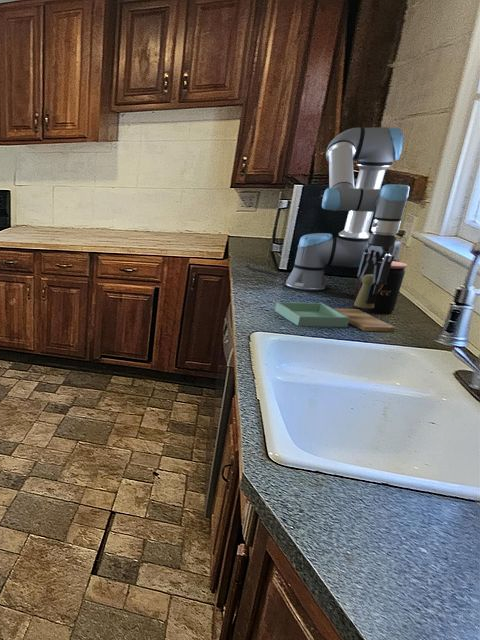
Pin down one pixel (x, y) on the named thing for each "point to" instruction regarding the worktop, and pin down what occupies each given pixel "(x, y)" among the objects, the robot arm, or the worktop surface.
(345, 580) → the worktop surface
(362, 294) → the olive pepper mill
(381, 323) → the board
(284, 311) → the green tray
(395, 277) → the coffee jar
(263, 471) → the worktop surface
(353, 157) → the robot arm
